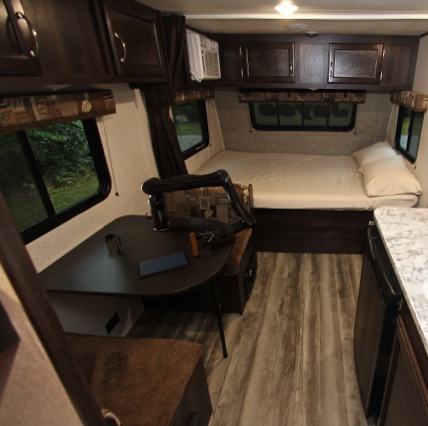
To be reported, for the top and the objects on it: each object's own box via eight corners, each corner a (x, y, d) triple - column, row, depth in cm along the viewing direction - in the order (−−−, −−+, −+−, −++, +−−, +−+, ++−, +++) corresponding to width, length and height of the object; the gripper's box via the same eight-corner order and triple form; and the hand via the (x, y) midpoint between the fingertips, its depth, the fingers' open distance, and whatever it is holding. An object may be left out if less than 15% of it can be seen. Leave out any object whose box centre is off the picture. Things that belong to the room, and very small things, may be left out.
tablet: (139, 263, 151) (139, 261, 151) (184, 252, 161) (183, 250, 161) (141, 278, 140) (140, 276, 140) (188, 265, 150) (188, 263, 150)
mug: (106, 256, 157) (100, 236, 152) (113, 250, 162) (107, 231, 157) (120, 257, 156) (114, 237, 151) (127, 251, 161) (121, 232, 156)
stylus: (193, 255, 158) (189, 233, 152) (197, 254, 160) (194, 232, 154) (194, 257, 157) (190, 235, 151) (198, 256, 158) (195, 234, 152)
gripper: (217, 222, 170) (190, 231, 159) (230, 230, 161) (203, 240, 150) (218, 233, 173) (192, 243, 162) (231, 242, 164) (205, 253, 153)
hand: (197, 242), depth 156 cm, fingers open, 8 cm apart
